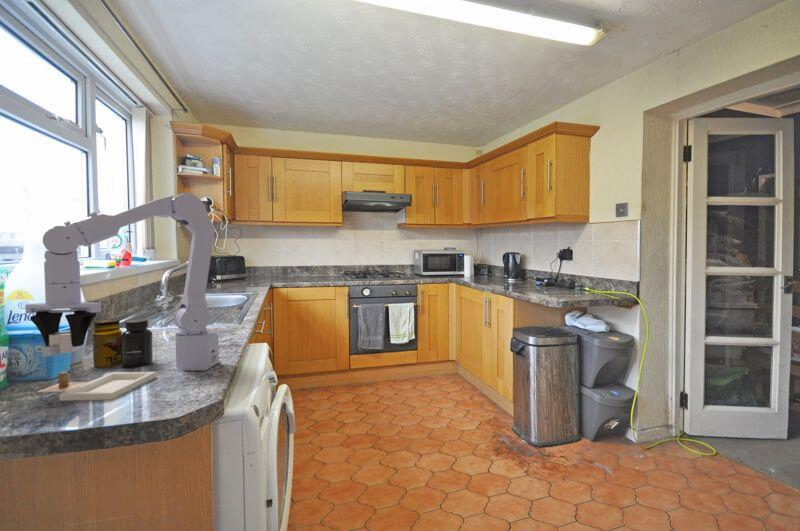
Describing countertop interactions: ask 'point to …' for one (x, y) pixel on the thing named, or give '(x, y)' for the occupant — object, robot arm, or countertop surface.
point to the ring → (59, 344)
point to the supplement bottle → (136, 345)
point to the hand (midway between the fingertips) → (65, 346)
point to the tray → (108, 386)
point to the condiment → (107, 343)
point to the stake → (62, 384)
